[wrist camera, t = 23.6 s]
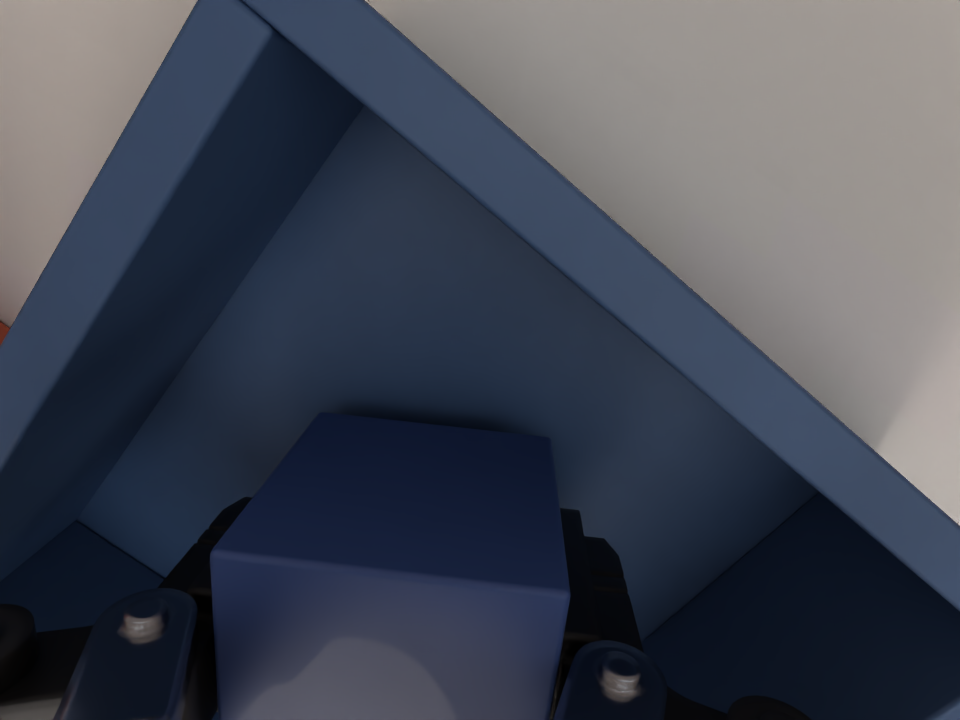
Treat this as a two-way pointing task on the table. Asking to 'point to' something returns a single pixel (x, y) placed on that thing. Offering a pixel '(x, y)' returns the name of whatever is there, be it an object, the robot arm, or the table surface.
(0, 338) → the terracotta bin
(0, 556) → the slate bin
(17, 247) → the table surface
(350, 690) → the blue block
